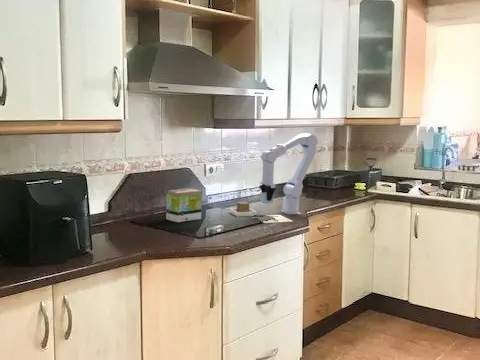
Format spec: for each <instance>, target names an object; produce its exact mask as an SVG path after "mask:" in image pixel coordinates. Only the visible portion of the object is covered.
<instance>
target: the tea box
mask: <svg viewBox="0 0 480 360" xmlns="http://www.w3.org/2000/svg"><path fill="white" fill-rule="evenodd" d="M202 203H203V190H199V189H195V188H190V187H189V188H181V189H171V190H167V193H166V211H165V212H166V215H165V217H166V220H168V221H171V222H175V223H182V222H188V221H195V220H196V221H197V220H201V219H202Z"/></svg>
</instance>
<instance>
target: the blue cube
mask: <svg viewBox="0 0 480 360" xmlns="http://www.w3.org/2000/svg"><path fill="white" fill-rule="evenodd" d="M260 203H263V204H265V205H266V204H274V195H273V196H272V200H271V201H267V194H266V192H260Z"/></svg>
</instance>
